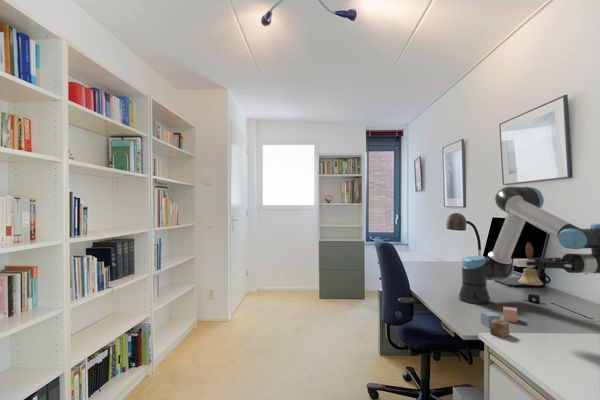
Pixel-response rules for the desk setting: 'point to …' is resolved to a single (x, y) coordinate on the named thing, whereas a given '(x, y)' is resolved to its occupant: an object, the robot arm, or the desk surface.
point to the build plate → (534, 298)
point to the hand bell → (530, 270)
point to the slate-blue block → (488, 318)
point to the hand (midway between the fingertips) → (515, 262)
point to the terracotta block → (510, 314)
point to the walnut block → (499, 328)
